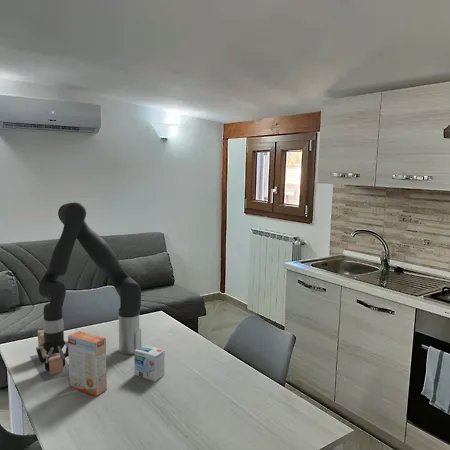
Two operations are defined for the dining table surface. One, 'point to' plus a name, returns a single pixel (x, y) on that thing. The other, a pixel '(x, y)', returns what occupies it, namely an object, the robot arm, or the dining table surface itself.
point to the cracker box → (87, 362)
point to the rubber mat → (44, 373)
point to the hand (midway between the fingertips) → (55, 368)
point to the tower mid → (41, 338)
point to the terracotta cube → (55, 365)
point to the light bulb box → (149, 362)
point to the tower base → (45, 353)
